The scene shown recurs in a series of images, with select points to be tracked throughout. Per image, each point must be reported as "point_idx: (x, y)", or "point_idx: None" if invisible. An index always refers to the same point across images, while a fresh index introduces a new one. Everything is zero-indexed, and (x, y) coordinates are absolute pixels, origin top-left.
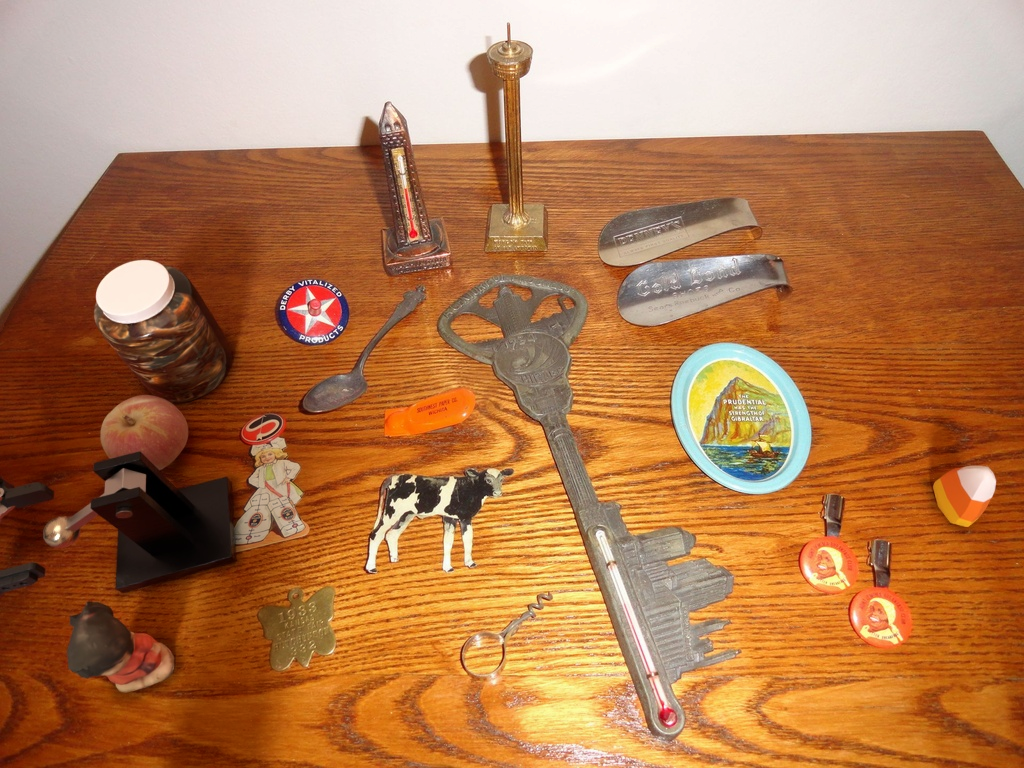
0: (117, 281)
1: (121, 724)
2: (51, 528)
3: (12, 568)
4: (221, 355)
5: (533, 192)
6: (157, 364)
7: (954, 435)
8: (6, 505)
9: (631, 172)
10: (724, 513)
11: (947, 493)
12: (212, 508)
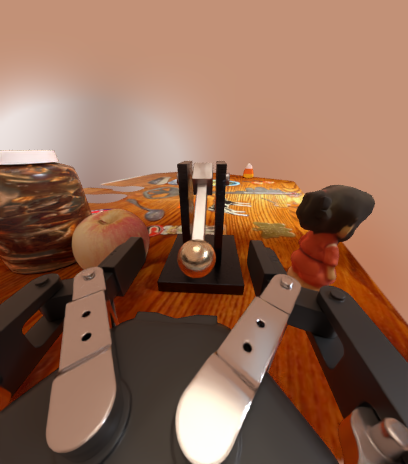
0: None
1: (359, 298)
2: (199, 242)
3: (258, 253)
4: None
5: (120, 186)
6: (75, 205)
7: (234, 176)
8: (109, 296)
9: (135, 180)
10: (243, 185)
11: (247, 173)
12: None
